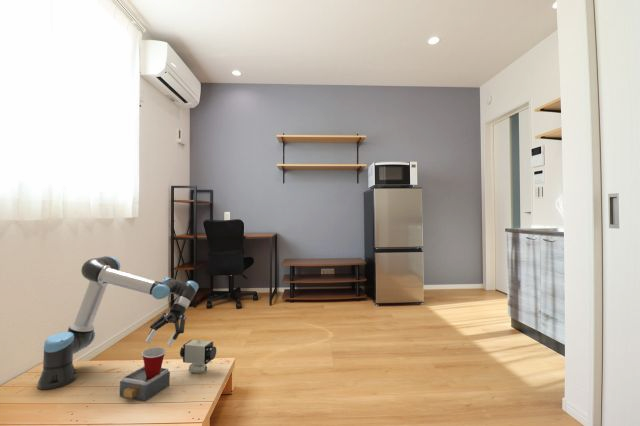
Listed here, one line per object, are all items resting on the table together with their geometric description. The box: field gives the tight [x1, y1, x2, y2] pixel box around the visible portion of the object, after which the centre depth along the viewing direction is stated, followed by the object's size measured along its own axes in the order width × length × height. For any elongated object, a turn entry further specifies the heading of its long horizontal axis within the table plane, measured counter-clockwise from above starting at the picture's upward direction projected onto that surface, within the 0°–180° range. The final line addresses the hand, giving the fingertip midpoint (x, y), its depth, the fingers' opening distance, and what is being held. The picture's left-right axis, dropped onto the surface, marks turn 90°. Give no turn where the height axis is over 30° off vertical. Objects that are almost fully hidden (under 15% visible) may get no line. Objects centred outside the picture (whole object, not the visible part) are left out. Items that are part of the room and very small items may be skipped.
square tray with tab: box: [119, 365, 171, 403], centre depth 150 cm, size 15×17×8 cm
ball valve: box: [179, 339, 217, 375], centre depth 171 cm, size 18×8×18 cm, turn 80°
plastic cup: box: [141, 346, 167, 379], centre depth 152 cm, size 11×11×12 cm
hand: (158, 343), depth 158 cm, fingers open, 13 cm apart
